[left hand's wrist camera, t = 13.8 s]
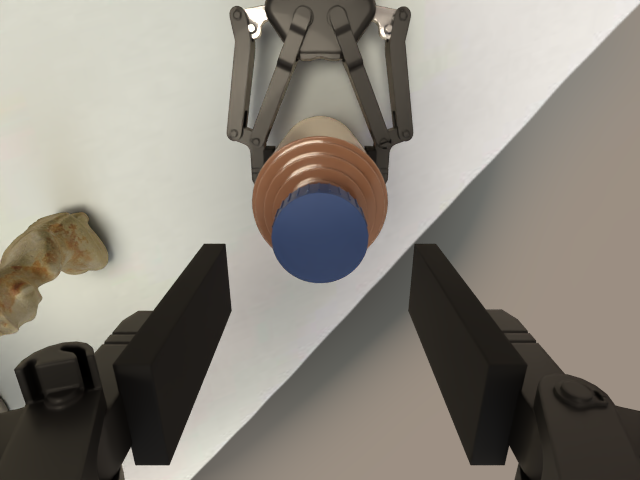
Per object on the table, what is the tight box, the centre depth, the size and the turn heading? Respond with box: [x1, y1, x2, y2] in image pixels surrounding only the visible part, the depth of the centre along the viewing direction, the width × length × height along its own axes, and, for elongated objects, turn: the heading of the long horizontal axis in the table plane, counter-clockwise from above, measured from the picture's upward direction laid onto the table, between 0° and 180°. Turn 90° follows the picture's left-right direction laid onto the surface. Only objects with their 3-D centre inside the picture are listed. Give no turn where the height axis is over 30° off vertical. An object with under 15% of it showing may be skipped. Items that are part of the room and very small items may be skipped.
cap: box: [271, 183, 369, 283], centre depth 19 cm, size 4×4×2 cm
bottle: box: [252, 116, 388, 248], centre depth 29 cm, size 8×8×24 cm
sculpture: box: [0, 212, 108, 336], centre depth 36 cm, size 6×7×15 cm
